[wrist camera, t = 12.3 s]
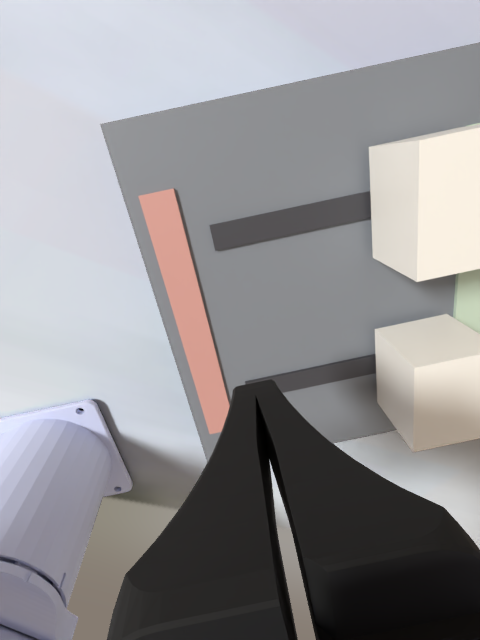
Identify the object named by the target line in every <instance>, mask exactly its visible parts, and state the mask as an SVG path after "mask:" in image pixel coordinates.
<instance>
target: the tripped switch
mask: <svg viewBox="0 0 480 640" xmlns="http://www.w3.org/2000/svg"><path fill="white" fill-rule="evenodd" d="M369 167H370V195H371V223H372V250H373V258H374V259H376V260H378V261H380V262H381V263H383V264H385V265H387V266H389V267H391V268H392V269H394V270H396V271H398V272H400V273H401V274H403V275H405V276H407V277H409V278H410V279H412V280H414V281H416V282H420V281H424V280H429V279H434V278H438V277H443V276H448V275H453V274H457V273H462V272H467V271H471V270H476V269H480V124H478V125H472V126H466V127H460V128H455V129H450V130H445V131H441V132H436V133H431V134H427V135H422V136H417V137H413V138H408V139H403V140H399V141H394V142H389V143H385V144H380V145H376V146H371V147H369Z"/></svg>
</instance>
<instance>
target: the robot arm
mask: <svg viewBox="0 0 480 640" xmlns="http://www.w3.org/2000/svg"><path fill="white" fill-rule="evenodd" d="M78 408H82V409H83V410H84V411H81V410H79V409H78ZM269 459H270V462H271V465H272V469H273V472H274V475H275V478H276V481H277V485H278V488H279V491H280V494H281V497H282V501H283V504H284V507H285V510H286V513H287V516H288V520H289V523H290V527H291V531H292V534H293V538H294V543H295V547H296V552H297V556H298V561H299V565H300V570H301V574H302V579H303V583H304V588H305V592H306V597H307V601H308V606H309V610H310V615H311V619H312V623H313V628H314V632H315V637H316V640H480V550H479V548H478V547H477V545H476V544H475V543H474V541H473V540H472V539H471V538H470V536H469V535H468V534H467V533H466V532H465V531H464V529H463V528H462V527H461V526H460V525H459V524H458V522H457V521H456V520H455V519H454V518H453V517H452V516H451V515H450V514H449V512H448V511H447V510H446V509H445V508H444V507H442V506H440V505H438V504H435V503H433V502H431V501H429V500H427V499H425V498H422V497H420V496H418V495H416V494H414V493H412V492H410V491H407V490H405V489H403V488H401V487H399V486H397V485H396V484H394V483H392V482H390V481H388V480H386V479H385V478H383V477H381V476H380V475H378V474H377V473H375V472H373V471H372V470H370V469H369V468H367V467H365V466H364V465H362V464H361V463H359V462H357V461H356V460H354V459H353V458H351V457H350V456H349V455H347V454H346V453H345V452H343V451H342V450H340V449H339V448H338V447H337V446H335V445H334V444H333V443H331V442H330V441H329V440H328V439H326V438H325V437H324V436H323V435H322V434H321V433H320V432H318V431H317V430H316V429H315V428H314V427H313V426H312V425H311V424H310V423H309V422H308V421H307V420H306V419H305V418H304V417H303V416H302V415H301V414H300V413H299V412H298V411H297V410H296V409H295V408H294V407H293V406H292V404H291V403H290V402H289V401H288V400H287V398H286V397H285V396H284V395H283V393H282V392H281V391H280V389H279V388H278V386H277V385H276V383H275V381H273V380H272V379H269V380H265V381H260V382H255V383H250V384H246V385H241V386H236V387H235V388H234V389H233V393H232V399H231V403H230V407H229V411H228V414H227V417H226V420H225V423H224V426H223V429H222V431H221V434H220V436H219V439H218V441H217V443H216V446H215V448H214V450H213V453H212V455H211V457H210V459H209V461H208V463H207V465H206V467H205V469H204V470H203V472H202V474H201V476H200V478H199V479H198V481H197V483H196V484H195V486H194V488H193V489H192V491H191V492H190V494H189V496H188V497H187V499H186V500H185V502H184V503H183V505H182V506H181V508H180V509H179V510H178V512H177V513H176V515H175V516H174V517H173V518H172V520H171V521H170V522H169V524H168V525H167V527H166V528H165V529H164V531H163V532H162V533H161V535H160V536H159V537H158V538H157V539H156V541H155V542H154V543H153V544H152V545H151V546H150V548H149V549H148V550H147V551H146V552H145V553H144V554H143V556H142V557H141V558H140V559H139V560H138V561H137V562H136V564H135V565H134V566H133V567H132V568H131V569H130V570H129V571H128V572H127V573H126V575H125V577H124V580H123V583H122V586H121V589H120V592H119V595H118V598H117V602H116V605H115V608H114V611H113V615H112V619H111V623H110V628H109V633H108V637H107V640H297V634H296V629H295V624H294V619H293V613H292V609H291V603H290V598H289V593H288V587H287V583H286V577H285V572H284V567H283V561H282V556H281V551H280V546H279V540H278V534H277V527H276V519H275V509H274V500H273V490H272V481H271V471H270V462H269ZM132 485H133V483H132V480H131V478H130V476H129V473H128V471H127V469H126V467H125V465H124V462H123V460H122V458H121V456H120V454H119V451H118V449H117V447H116V445H115V443H114V440H113V438H112V436H111V434H110V432H109V429H108V427H107V425H106V423H105V421H104V418H103V416H102V414H101V412H100V410H99V407H98V405H97V404H96V402H94V401H92V400H84V401H79V402H74V403H70V404H65V405H60V406H56V407H51V408H46V409H41V410H37V411H32V412H27V413H22V414H18V415H13V416H8V417H4V418H0V640H72V638H73V634H74V631H75V627H76V624H77V621H78V617H77V616H76V615H74V614H72V613H71V612H69V611H68V610H67V606H68V603H69V599H70V597H71V594H72V591H73V587H74V584H75V581H76V578H77V575H78V572H79V569H80V566H81V563H82V559H83V556H84V553H85V550H86V547H87V544H88V541H89V538H90V535H91V532H92V529H93V526H94V522H95V519H96V516H97V513H98V510H99V507H100V504H101V501H102V498H103V497H106V496H110V495H115V494H120V493H125V492H128V491H130V490H131V489H132ZM117 486H119V487H117Z"/></svg>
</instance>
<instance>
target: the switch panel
mask: <svg viewBox="0 0 480 640" xmlns="http://www.w3.org/2000/svg"><path fill="white" fill-rule="evenodd" d="M478 124H480V43H475V44H470V45H466V46H461V47H456V48H452V49H447V50H442V51H438V52H433V53H428V54H424V55H419V56H415V57H410V58H405V59H401V60H396V61H391V62H387V63H382V64H377V65H373V66H368V67H364V68H359V69H354V70H350V71H345V72H340V73H336V74H331V75H326V76H322V77H317V78H312V79H308V80H303V81H299V82H294V83H289V84H285V85H280V86H275V87H271V88H266V89H261V90H257V91H252V92H248V93H243V94H238V95H234V96H229V97H224V98H220V99H215V100H210V101H206V102H201V103H197V104H192V105H187V106H183V107H178V108H173V109H169V110H164V111H159V112H155V113H150V114H145V115H141V116H136V117H132V118H127V119H122V120H118V121H113V122H108V123H104V124H100V125H101V128H102V131H103V135H104V138H105V141H106V144H107V147H108V150H109V154H110V157H111V160H112V163H113V166H114V169H115V172H116V176H117V179H118V182H119V185H120V188H121V191H122V195H123V198H124V201H125V204H126V207H127V210H128V213H129V217H130V220H131V223H132V226H133V229H134V232H135V235H136V239H137V242H138V245H139V248H140V251H141V254H142V258H143V261H144V264H145V267H146V270H147V273H148V276H149V280H150V283H151V286H152V289H153V292H154V295H155V299H156V302H157V305H158V308H159V311H160V314H161V317H162V321H163V324H164V327H165V330H166V333H167V336H168V340H169V343H170V346H171V349H172V352H173V355H174V358H175V362H176V365H177V368H178V371H179V374H180V377H181V380H182V384H183V387H184V390H185V393H186V396H187V399H188V403H189V406H190V409H191V412H192V415H193V418H194V421H195V425H196V428H197V431H198V434H199V437H200V440H201V444H202V447H203V450H204V453H205V456H206V459H207V462H208V461H209V459H210V457H211V455H212V453H213V450H214V448H215V446H216V443H217V441H218V439H219V436H220V434H221V431H222V429H223V426H224V423H225V420H226V417H227V414H228V411H229V407H230V403H231V399H232V393H233V389H234V388H235V387H236V386H241V385H246V384H250V383H255V382H260V381H265V380H269V379H272V380H273V381H275V383H276V385H277V386H278V388H279V389H280V391H281V392H282V393H283V395H284V396H285V397H286V398H287V400H288V401H289V402H290V403H291V404H292V406H293V407H294V408H295V409H296V410H297V411H298V412H299V413H300V414H301V415H302V416H303V417H304V418H305V419H306V420H307V421H308V422H309V423H310V424H311V425H312V426H313V427H314V428H315V429H316V430H317V431H318V432H320V433H321V434H322V435H323V436H324V437H325V438H326V439H328V440H329V441H330V442H331V443H337V442H342V441H347V440H351V439H356V438H361V437H366V436H370V435H375V434H380V433H385V432H390V431H394V430H397V429H396V428H395V427H394V425H393V424H392V422H391V421H390V420H389V418H388V417H387V415H386V414H385V413H384V411H383V410H382V408H381V407H380V406H379V404H378V403H377V381H376V354H375V329H378V328H383V327H387V326H392V325H397V324H401V323H406V322H411V321H416V320H420V319H425V318H430V317H434V316H439V315H444V314H448V315H450V316H451V317H453V318H455V319H456V320H458V321H459V322H461V323H463V324H464V325H466V326H468V327H469V328H471V329H472V330H474V331H476V332H477V333H479V334H480V269H476V270H471V271H467V272H462V273H457V274H453V275H448V276H443V277H438V278H434V279H429V280H424V281H420V282H416V281H414V280H412V279H410V278H409V277H407V276H405V275H403V274H401V273H400V272H398V271H396V270H394V269H392V268H391V267H389V266H387V265H385V264H383V263H381V262H380V261H378V260H376V259H374V258H373V250H372V223H371V195H370V167H369V147H371V146H376V145H380V144H385V143H389V142H394V141H399V140H403V139H408V138H413V137H417V136H422V135H427V134H431V133H436V132H441V131H445V130H450V129H455V128H460V127H466V126H472V125H478Z"/></svg>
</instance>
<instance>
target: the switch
mask: <svg viewBox="0 0 480 640" xmlns="http://www.w3.org/2000/svg"><path fill="white" fill-rule="evenodd" d="M375 354H376V381H377V403H378V404H379V406H380V407H381V408H382V410H383V411H384V413H385V414H386V415H387V417H388V418H389V420H390V421H391V422H392V424H393V425H394V427H395V428H396V429H397V431H398V432H399V434H400V435H401V436H402V438H403V439H404V441H405V442H406V443H407V445H408V446H409V448H410V449H411V450H412V452H417V451H422V450H427V449H432V448H436V447H441V446H446V445H451V444H455V443H460V442H465V441H470V440H474V439H479V438H480V334H479V333H477V332H476V331H474V330H472V329H471V328H469V327H468V326H466V325H464V324H463V323H461V322H459V321H458V320H456V319H455V318H453V317H451V316H450V315H448V314H444V315H439V316H434V317H430V318H425V319H420V320H416V321H411V322H406V323H401V324H397V325H392V326H387V327H383V328H378V329H375Z"/></svg>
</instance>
